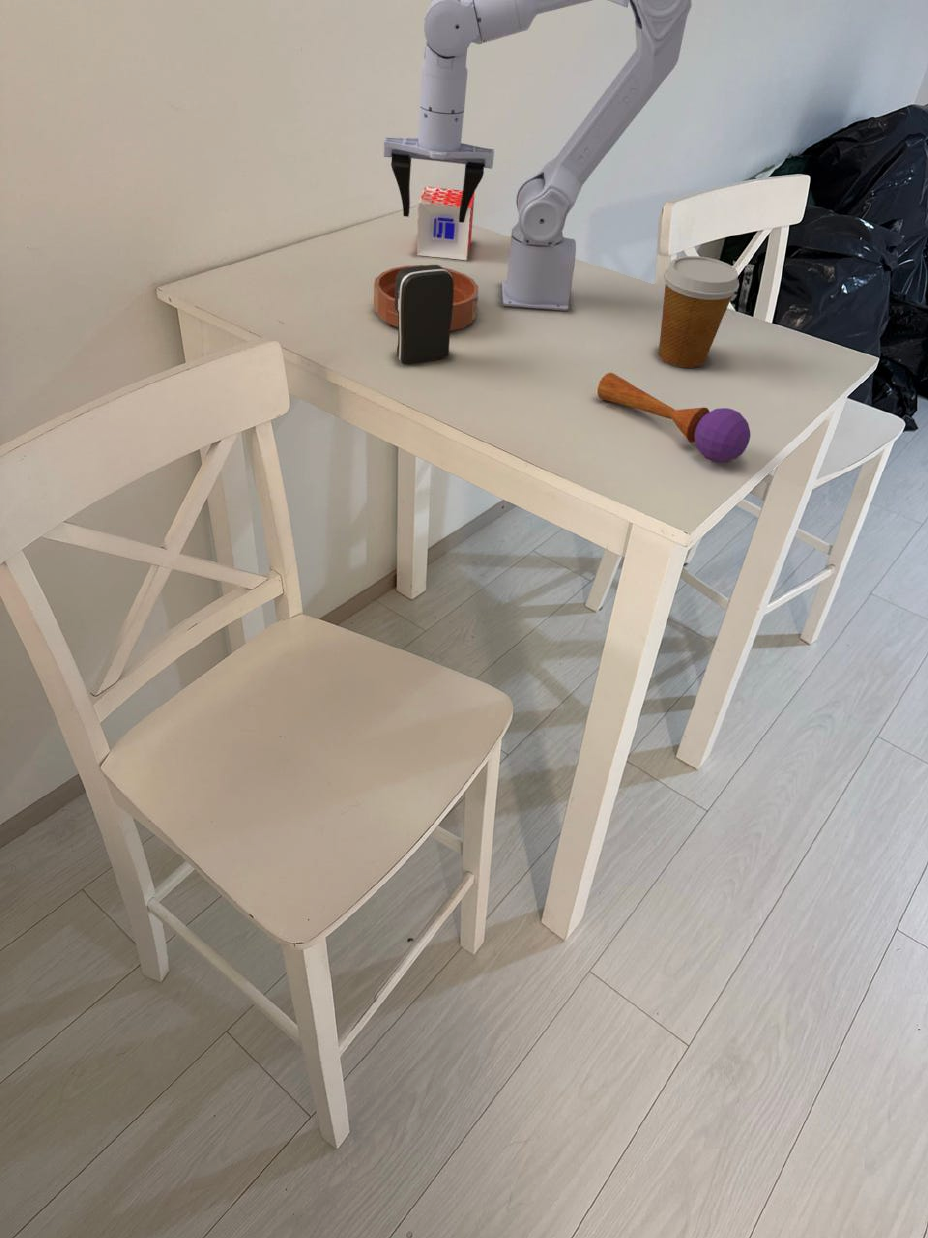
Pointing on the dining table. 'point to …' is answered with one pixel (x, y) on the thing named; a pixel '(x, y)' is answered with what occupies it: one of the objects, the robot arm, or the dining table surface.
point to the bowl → (462, 298)
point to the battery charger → (423, 312)
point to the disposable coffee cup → (694, 308)
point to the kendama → (686, 420)
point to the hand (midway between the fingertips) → (434, 216)
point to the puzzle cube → (443, 224)
